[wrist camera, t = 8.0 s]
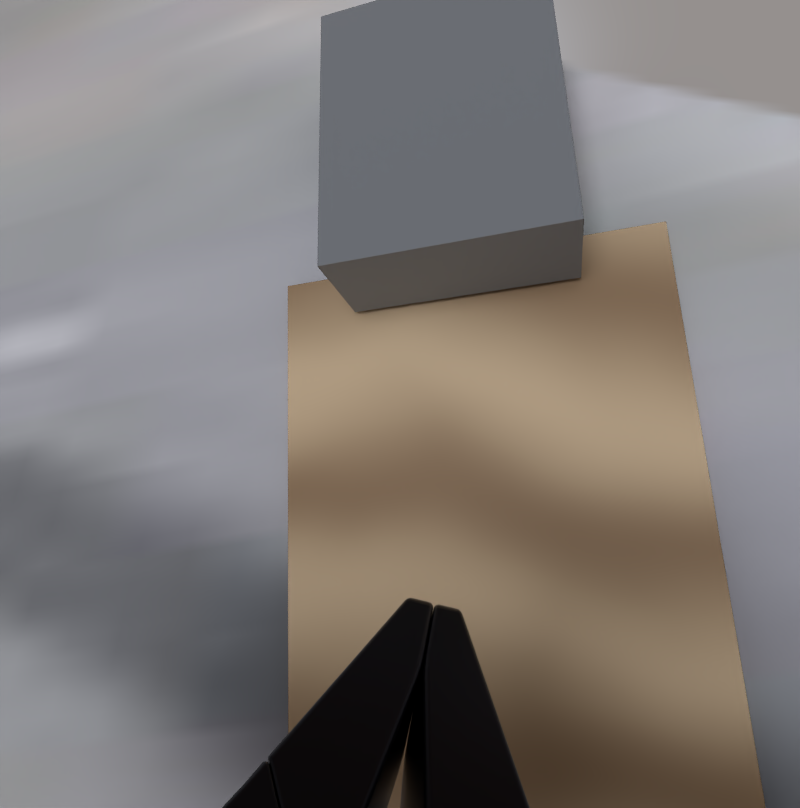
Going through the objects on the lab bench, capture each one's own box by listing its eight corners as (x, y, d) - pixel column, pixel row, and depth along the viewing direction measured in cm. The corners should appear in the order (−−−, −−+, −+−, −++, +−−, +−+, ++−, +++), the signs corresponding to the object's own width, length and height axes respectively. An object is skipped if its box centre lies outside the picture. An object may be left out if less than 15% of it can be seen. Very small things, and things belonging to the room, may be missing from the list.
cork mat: (768, 849, 13) (774, 857, 13) (294, 811, 16) (288, 817, 16) (663, 228, 17) (665, 221, 17) (293, 290, 20) (288, 286, 20)
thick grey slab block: (583, 218, 14) (545, -50, 17) (317, 266, 16) (321, 16, 18) (581, 279, 17) (549, 42, 20) (356, 313, 19) (354, 92, 21)
